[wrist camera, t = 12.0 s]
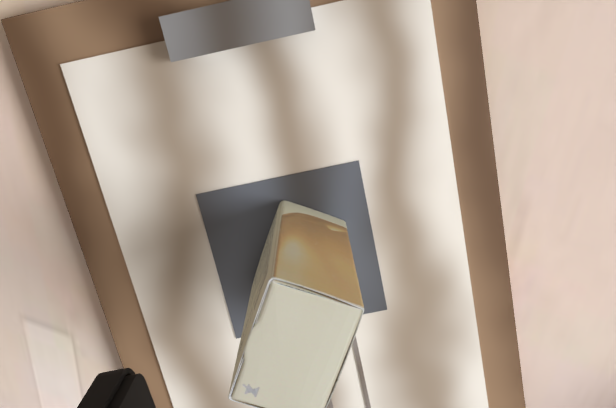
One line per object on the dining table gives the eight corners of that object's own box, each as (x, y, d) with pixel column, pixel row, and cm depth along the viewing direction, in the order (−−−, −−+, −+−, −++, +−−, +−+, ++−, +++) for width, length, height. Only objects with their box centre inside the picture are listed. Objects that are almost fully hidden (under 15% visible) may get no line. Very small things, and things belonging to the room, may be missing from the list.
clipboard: (459, -85, 32) (473, -95, 29) (522, 426, 42) (537, 453, 39) (11, 19, 33) (-15, 19, 31) (173, 487, 43) (165, 518, 40)
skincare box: (314, 305, 37) (318, 434, 25) (250, 285, 37) (222, 407, 25) (349, 215, 35) (370, 309, 24) (281, 193, 35) (268, 277, 23)
